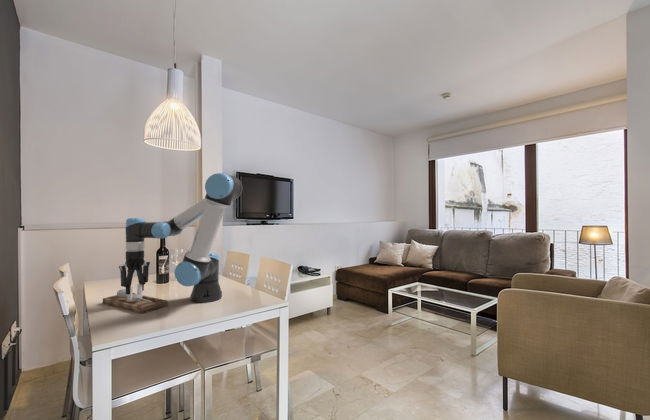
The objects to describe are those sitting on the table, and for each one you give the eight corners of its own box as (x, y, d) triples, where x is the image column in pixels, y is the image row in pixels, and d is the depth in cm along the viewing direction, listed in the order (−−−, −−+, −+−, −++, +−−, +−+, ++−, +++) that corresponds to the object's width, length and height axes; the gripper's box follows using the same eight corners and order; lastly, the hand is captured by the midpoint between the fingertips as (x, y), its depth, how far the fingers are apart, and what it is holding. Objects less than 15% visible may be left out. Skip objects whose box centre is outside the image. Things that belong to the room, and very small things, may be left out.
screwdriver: (147, 308, 135) (145, 300, 134) (115, 298, 146) (113, 290, 145) (157, 303, 139) (155, 295, 138) (125, 293, 150) (123, 286, 149)
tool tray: (167, 305, 141) (167, 300, 141) (142, 313, 130) (142, 307, 130) (128, 297, 154) (128, 292, 154) (102, 303, 143) (102, 298, 143)
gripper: (147, 247, 151) (147, 293, 151) (111, 252, 136) (110, 303, 136) (157, 248, 148) (156, 295, 148) (121, 253, 132) (120, 305, 133)
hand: (134, 299), depth 142 cm, fingers closed on screwdriver, 4 cm apart
